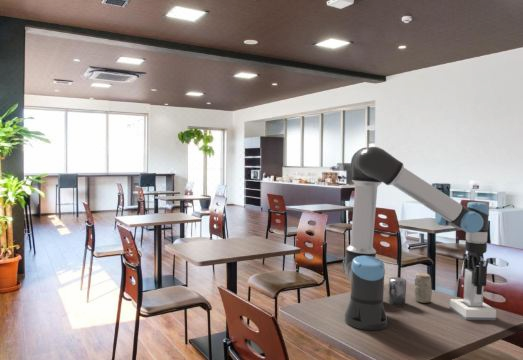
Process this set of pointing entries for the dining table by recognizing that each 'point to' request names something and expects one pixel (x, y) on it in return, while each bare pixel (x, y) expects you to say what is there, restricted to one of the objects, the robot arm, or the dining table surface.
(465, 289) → the square peg
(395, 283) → the round bit
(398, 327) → the dining table surface
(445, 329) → the dining table surface
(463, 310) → the bore block
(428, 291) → the carving
